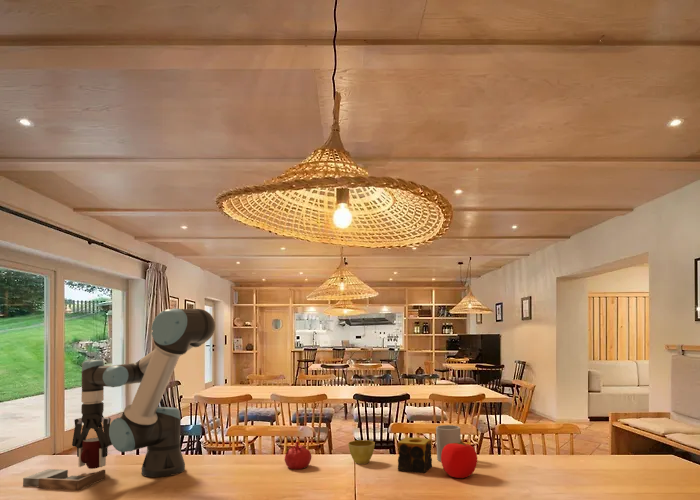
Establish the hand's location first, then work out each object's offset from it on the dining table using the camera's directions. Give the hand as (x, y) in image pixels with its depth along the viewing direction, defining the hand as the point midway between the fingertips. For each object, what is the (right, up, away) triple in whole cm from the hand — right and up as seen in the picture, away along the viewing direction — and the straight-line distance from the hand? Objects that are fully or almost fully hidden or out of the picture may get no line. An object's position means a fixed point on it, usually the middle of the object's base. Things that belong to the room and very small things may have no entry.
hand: (92, 466), depth 217 cm
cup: (+132, -1, +8) cm, 132 cm away
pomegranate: (+75, -1, +2) cm, 75 cm away
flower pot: (+99, -1, +7) cm, 99 cm away
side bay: (-5, -1, -11) cm, 13 cm away
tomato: (+132, +2, -14) cm, 132 cm away
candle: (+118, 0, -4) cm, 118 cm away
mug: (0, -1, 0) cm, 1 cm away
